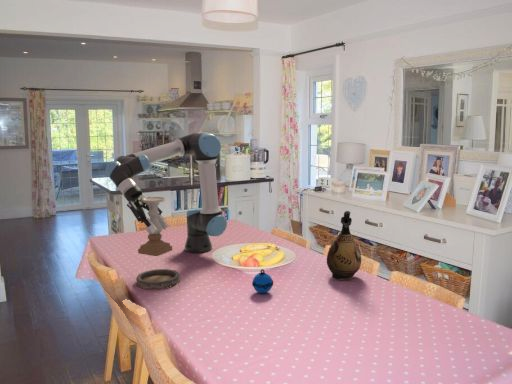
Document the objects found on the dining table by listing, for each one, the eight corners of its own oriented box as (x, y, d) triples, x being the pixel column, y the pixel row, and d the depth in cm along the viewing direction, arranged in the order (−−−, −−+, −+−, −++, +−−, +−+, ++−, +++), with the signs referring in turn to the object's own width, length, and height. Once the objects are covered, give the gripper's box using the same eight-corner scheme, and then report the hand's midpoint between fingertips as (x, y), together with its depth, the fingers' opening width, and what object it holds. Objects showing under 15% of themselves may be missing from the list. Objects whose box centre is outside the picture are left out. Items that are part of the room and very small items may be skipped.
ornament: (255, 297, 190) (255, 273, 189) (250, 290, 198) (249, 267, 197) (275, 295, 192) (275, 271, 191) (269, 288, 201) (269, 265, 199)
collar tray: (182, 274, 220) (181, 268, 219) (177, 288, 201) (176, 282, 201) (141, 275, 219) (140, 269, 219) (132, 290, 200) (132, 283, 200)
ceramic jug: (361, 283, 204) (362, 216, 199) (325, 281, 207) (326, 215, 202) (360, 271, 220) (361, 208, 216) (327, 269, 223) (328, 207, 219)
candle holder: (137, 253, 206) (134, 199, 202) (154, 247, 216) (151, 196, 212) (156, 256, 201) (154, 201, 197) (173, 250, 210) (170, 197, 207)
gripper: (141, 192, 220) (170, 229, 215) (110, 199, 203) (141, 239, 198) (149, 182, 217) (179, 219, 212) (118, 188, 200) (150, 228, 195)
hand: (160, 229), depth 205 cm, fingers closed on candle holder, 7 cm apart
